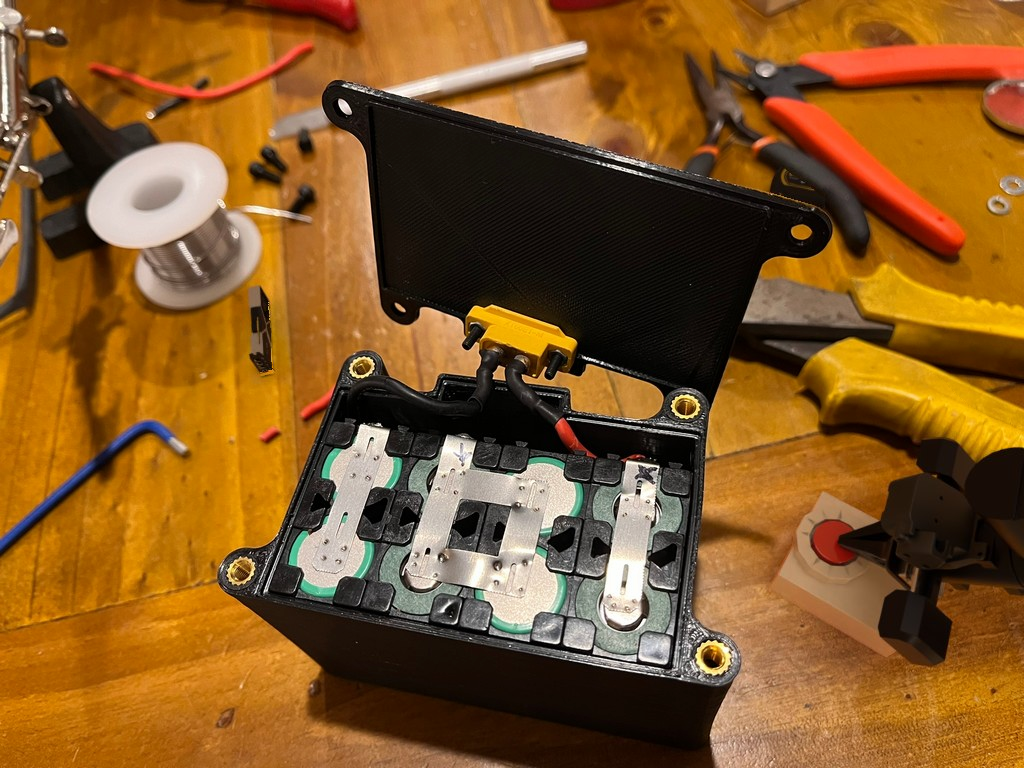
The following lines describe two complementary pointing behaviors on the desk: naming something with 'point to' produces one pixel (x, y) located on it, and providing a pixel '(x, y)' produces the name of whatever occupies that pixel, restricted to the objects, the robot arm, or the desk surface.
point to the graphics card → (260, 329)
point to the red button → (831, 543)
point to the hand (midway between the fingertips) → (840, 541)
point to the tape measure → (795, 188)
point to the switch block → (836, 578)
